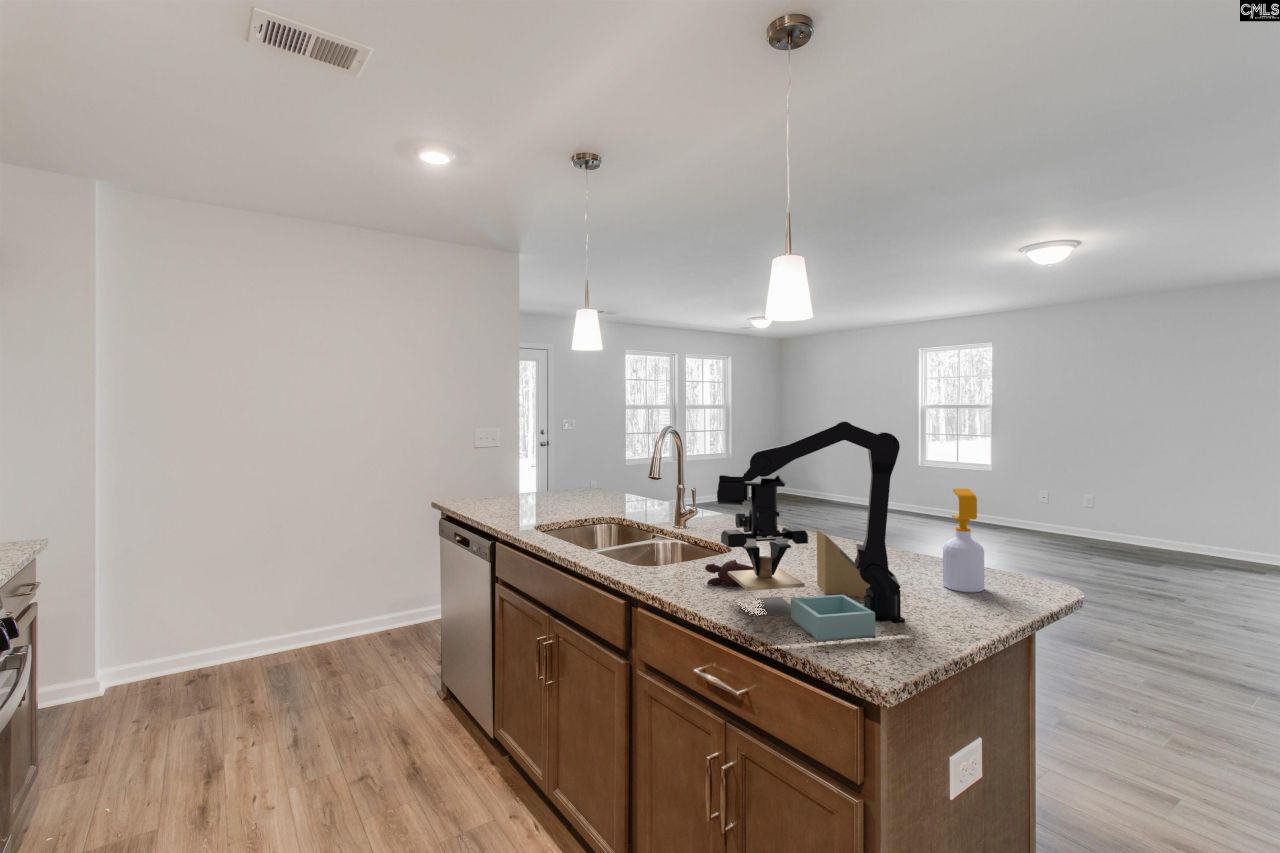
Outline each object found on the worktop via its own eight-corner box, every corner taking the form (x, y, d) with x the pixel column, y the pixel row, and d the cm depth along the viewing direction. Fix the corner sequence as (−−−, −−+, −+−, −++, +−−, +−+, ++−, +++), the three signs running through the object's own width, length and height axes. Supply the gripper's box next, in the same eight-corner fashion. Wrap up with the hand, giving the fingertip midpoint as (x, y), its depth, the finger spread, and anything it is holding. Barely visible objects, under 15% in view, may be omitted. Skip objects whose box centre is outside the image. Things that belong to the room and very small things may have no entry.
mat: (780, 599, 141) (779, 596, 141) (802, 615, 129) (802, 613, 129) (731, 602, 139) (731, 599, 139) (749, 619, 127) (749, 616, 127)
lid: (780, 571, 142) (780, 549, 142) (804, 586, 129) (804, 562, 129) (727, 574, 139) (727, 552, 139) (747, 590, 127) (747, 566, 127)
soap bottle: (973, 582, 153) (973, 487, 152) (991, 593, 144) (991, 491, 143) (937, 582, 154) (937, 487, 153) (952, 592, 144) (951, 491, 144)
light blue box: (843, 617, 128) (843, 594, 128) (875, 638, 116) (875, 612, 116) (791, 621, 126) (790, 598, 126) (817, 643, 114) (817, 617, 114)
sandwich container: (890, 597, 142) (890, 534, 142) (825, 597, 143) (825, 535, 143) (878, 587, 151) (878, 528, 150) (816, 587, 151) (816, 528, 151)
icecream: (760, 556, 157) (703, 562, 157) (764, 556, 150) (705, 561, 150) (764, 584, 155) (706, 589, 155) (768, 584, 148) (708, 590, 148)
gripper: (788, 499, 143) (788, 564, 144) (713, 502, 140) (714, 568, 140) (809, 506, 132) (809, 576, 133) (728, 509, 129) (729, 581, 129)
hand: (764, 575), depth 134 cm, fingers closed on lid, 3 cm apart
